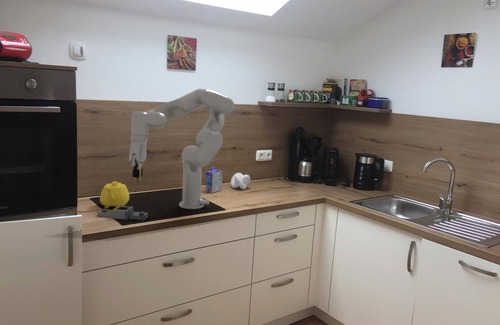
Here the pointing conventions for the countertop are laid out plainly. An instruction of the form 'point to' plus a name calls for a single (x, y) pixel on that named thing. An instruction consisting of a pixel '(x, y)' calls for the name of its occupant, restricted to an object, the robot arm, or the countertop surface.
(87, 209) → the countertop surface
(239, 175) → the white twisted lump
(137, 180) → the pin
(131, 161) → the robot arm
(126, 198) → the teapot
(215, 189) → the ink cartridge box
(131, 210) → the chain ends
